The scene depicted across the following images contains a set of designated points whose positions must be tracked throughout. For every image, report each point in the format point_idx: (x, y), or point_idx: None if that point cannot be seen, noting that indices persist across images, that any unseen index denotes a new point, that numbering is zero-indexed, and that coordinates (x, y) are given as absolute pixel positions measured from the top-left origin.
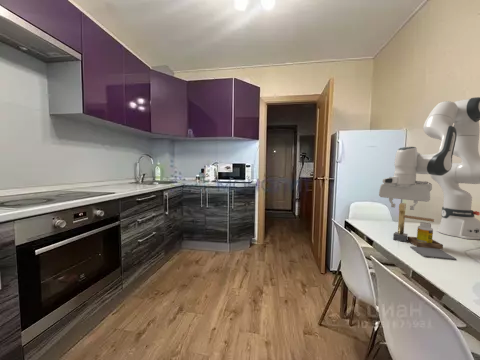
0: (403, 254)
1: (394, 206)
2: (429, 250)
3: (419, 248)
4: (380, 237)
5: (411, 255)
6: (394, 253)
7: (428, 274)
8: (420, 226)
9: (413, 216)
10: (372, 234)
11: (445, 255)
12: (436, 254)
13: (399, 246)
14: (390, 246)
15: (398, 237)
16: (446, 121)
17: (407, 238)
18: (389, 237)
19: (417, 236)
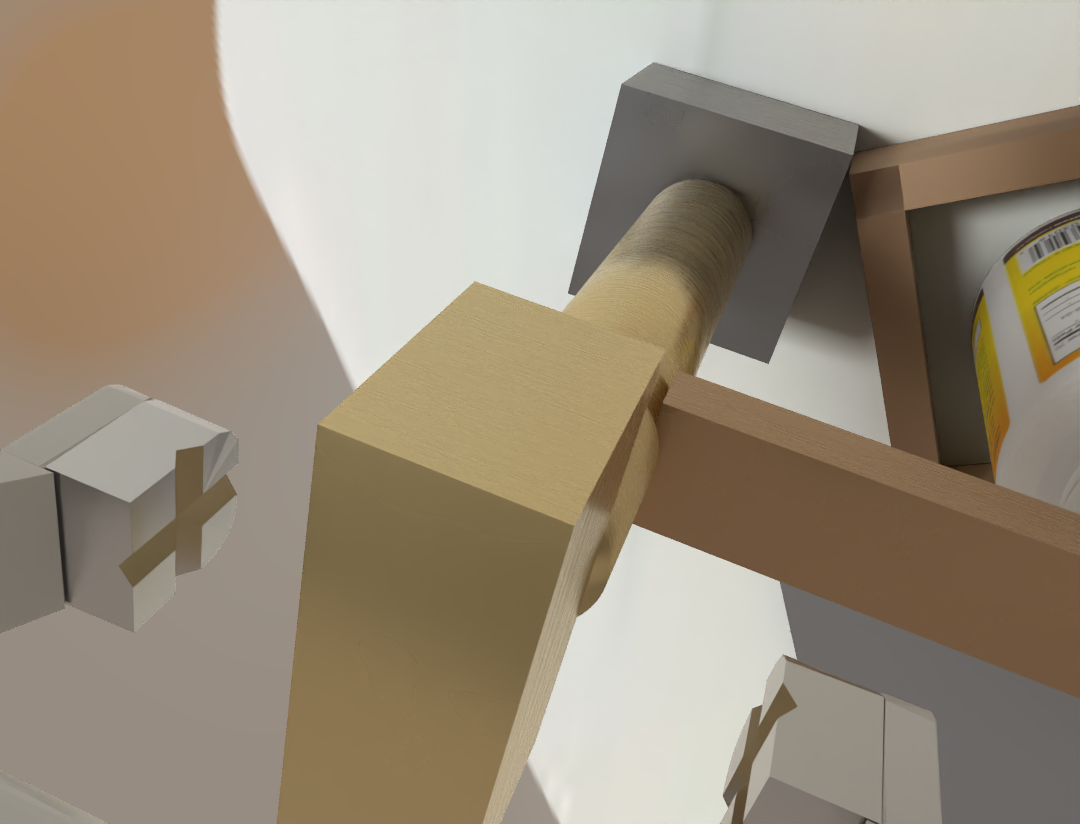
0: (642, 794)
1: (199, 566)
2: (1002, 670)
3: (883, 626)
4: (419, 203)
5: (717, 804)
6: (561, 786)
7: None
8: (1065, 496)
9: (901, 556)
10: (291, 59)
11: None
12: (1023, 786)
13: (646, 558)
14: None
15: None
16: None
17: (852, 164)
18: (555, 111)
19: (980, 382)
